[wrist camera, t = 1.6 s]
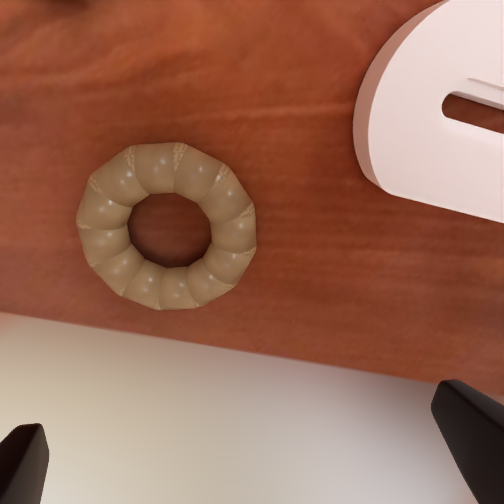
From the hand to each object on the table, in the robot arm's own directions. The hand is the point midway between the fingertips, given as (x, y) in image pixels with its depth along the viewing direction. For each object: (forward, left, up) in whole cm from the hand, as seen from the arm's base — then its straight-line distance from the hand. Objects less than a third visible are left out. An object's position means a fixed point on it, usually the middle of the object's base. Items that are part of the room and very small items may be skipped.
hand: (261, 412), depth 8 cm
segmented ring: (+3, +2, -12) cm, 13 cm away
